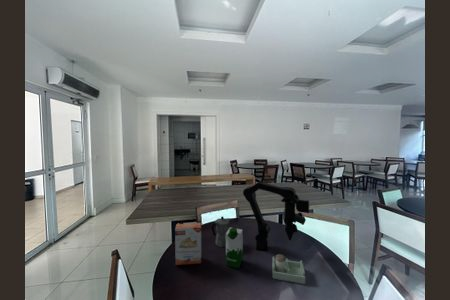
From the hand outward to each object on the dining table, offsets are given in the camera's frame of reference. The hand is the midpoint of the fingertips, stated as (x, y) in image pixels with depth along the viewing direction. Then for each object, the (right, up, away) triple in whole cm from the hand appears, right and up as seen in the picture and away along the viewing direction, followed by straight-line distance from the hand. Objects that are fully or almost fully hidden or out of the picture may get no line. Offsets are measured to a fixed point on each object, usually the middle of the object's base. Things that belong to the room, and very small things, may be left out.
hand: (289, 235), depth 107 cm
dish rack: (-6, -13, -13) cm, 19 cm away
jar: (-9, -12, -12) cm, 19 cm away
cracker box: (-58, -13, -4) cm, 59 cm away
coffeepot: (-40, -12, +13) cm, 44 cm away
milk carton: (-33, -13, -6) cm, 35 cm away
